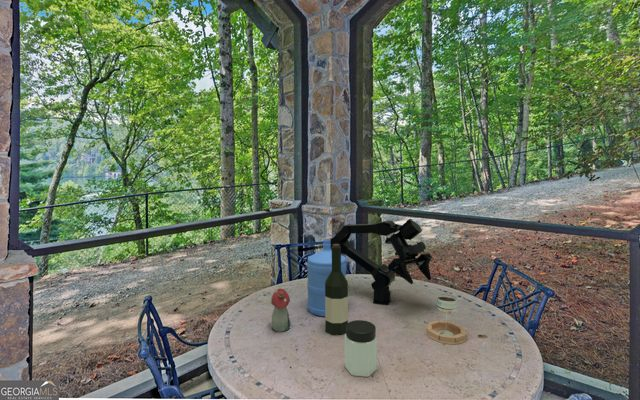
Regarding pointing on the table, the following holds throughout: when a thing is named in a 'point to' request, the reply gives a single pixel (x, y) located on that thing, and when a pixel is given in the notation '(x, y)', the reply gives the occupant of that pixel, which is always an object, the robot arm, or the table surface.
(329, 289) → the wine bottle
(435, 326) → the coaster
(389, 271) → the robot arm
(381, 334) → the table surface
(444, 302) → the wineglass
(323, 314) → the water jug
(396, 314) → the table surface
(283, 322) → the decorative ornament
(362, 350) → the jar
